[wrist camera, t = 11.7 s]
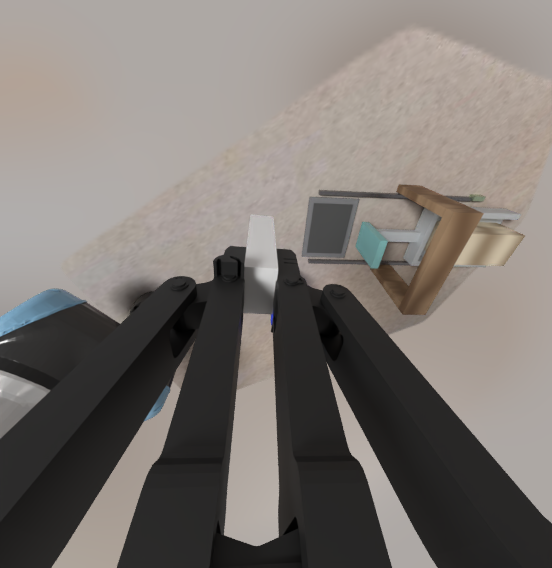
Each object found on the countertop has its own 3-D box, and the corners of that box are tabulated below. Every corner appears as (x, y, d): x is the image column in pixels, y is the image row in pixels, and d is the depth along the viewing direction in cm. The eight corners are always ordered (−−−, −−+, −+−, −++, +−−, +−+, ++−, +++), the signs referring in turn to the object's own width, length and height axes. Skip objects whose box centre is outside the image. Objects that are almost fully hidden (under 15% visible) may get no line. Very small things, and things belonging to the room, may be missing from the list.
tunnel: (370, 268, 51) (402, 314, 39) (398, 184, 41) (454, 212, 29) (387, 269, 51) (425, 314, 40) (420, 185, 41) (484, 213, 29)
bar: (423, 249, 47) (442, 264, 42) (437, 220, 44) (459, 233, 39) (479, 250, 48) (503, 265, 43) (496, 222, 45) (525, 235, 40)
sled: (349, 256, 48) (366, 283, 41) (363, 202, 42) (386, 222, 34) (474, 259, 50) (512, 285, 43) (506, 208, 44) (558, 228, 36)
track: (307, 263, 49) (308, 266, 48) (319, 187, 41) (320, 189, 40) (441, 266, 52) (445, 268, 51) (480, 194, 43) (485, 196, 42)
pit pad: (301, 256, 48) (301, 256, 48) (309, 196, 41) (309, 197, 41) (344, 257, 49) (344, 257, 49) (358, 198, 42) (359, 199, 42)
